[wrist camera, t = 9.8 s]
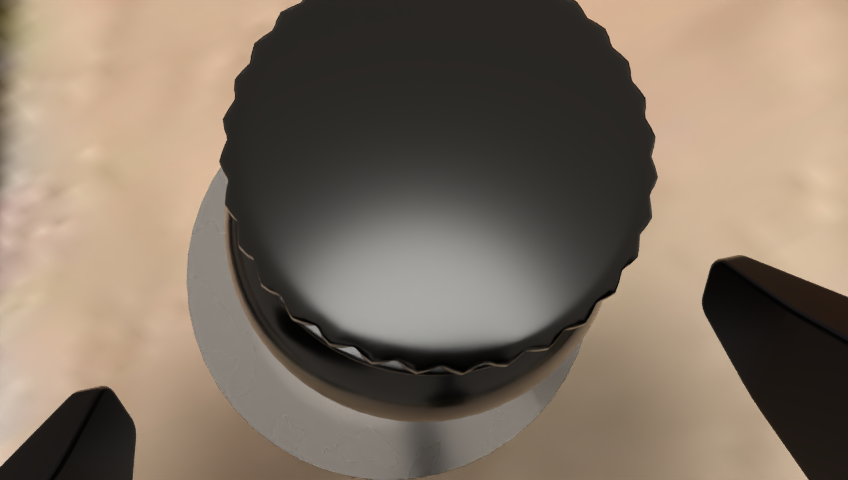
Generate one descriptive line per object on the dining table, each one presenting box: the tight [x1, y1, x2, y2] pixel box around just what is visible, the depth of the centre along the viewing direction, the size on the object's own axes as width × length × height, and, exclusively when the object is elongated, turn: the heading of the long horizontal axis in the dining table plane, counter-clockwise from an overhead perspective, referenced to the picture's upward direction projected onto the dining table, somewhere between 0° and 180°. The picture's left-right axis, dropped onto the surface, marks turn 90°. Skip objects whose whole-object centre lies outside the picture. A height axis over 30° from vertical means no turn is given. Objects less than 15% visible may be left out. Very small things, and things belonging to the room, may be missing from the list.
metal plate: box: [187, 168, 583, 480], centre depth 18 cm, size 13×13×2 cm
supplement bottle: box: [219, 0, 658, 422], centre depth 12 cm, size 7×7×12 cm
